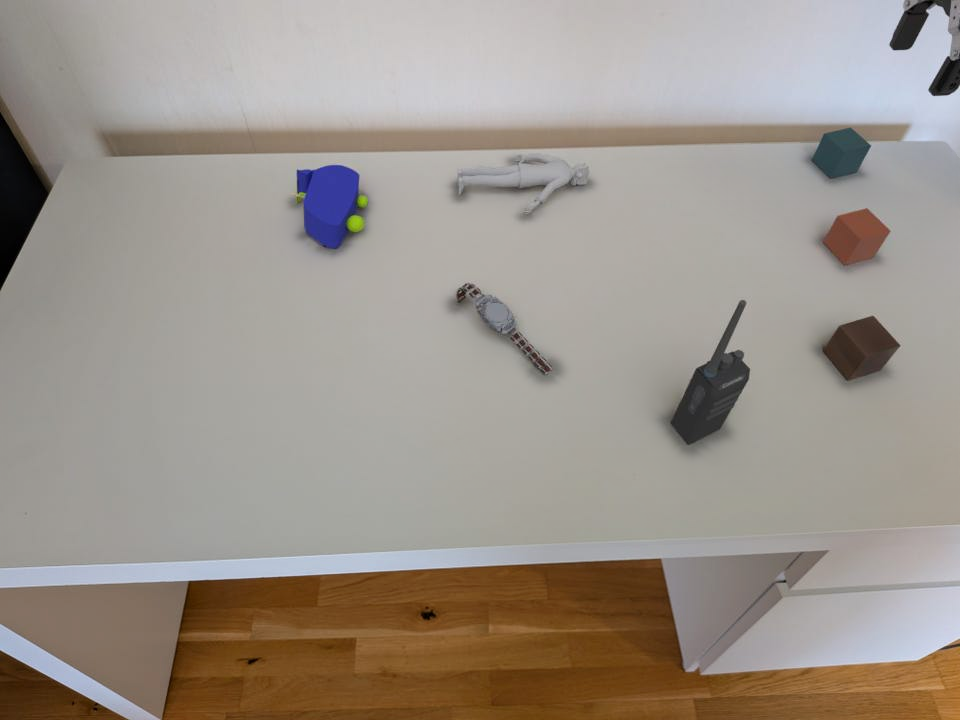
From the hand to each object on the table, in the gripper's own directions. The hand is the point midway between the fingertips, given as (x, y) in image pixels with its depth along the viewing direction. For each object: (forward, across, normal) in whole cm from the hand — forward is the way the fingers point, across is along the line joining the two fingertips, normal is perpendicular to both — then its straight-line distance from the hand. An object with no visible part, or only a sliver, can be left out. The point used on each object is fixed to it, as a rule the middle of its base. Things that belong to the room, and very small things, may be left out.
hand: (918, 70), depth 69 cm
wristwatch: (+24, -12, +43) cm, 51 cm away
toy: (+24, +10, +63) cm, 68 cm away
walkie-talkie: (+24, -26, +24) cm, 43 cm away
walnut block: (+24, -19, +4) cm, 31 cm away
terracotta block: (+24, -2, -3) cm, 24 cm away
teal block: (+24, +15, -8) cm, 29 cm away
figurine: (+24, +14, +37) cm, 46 cm away
